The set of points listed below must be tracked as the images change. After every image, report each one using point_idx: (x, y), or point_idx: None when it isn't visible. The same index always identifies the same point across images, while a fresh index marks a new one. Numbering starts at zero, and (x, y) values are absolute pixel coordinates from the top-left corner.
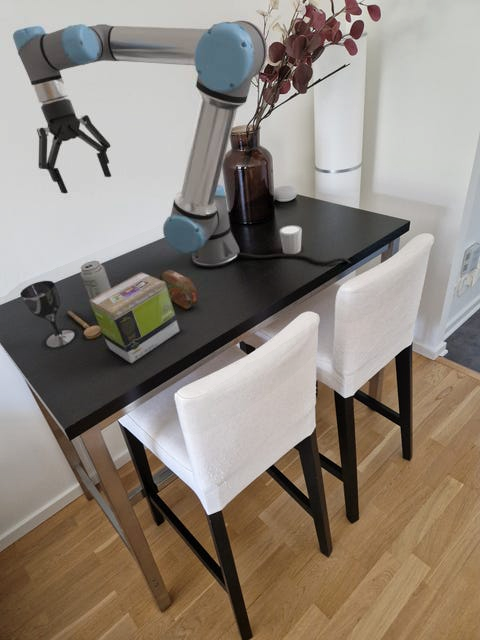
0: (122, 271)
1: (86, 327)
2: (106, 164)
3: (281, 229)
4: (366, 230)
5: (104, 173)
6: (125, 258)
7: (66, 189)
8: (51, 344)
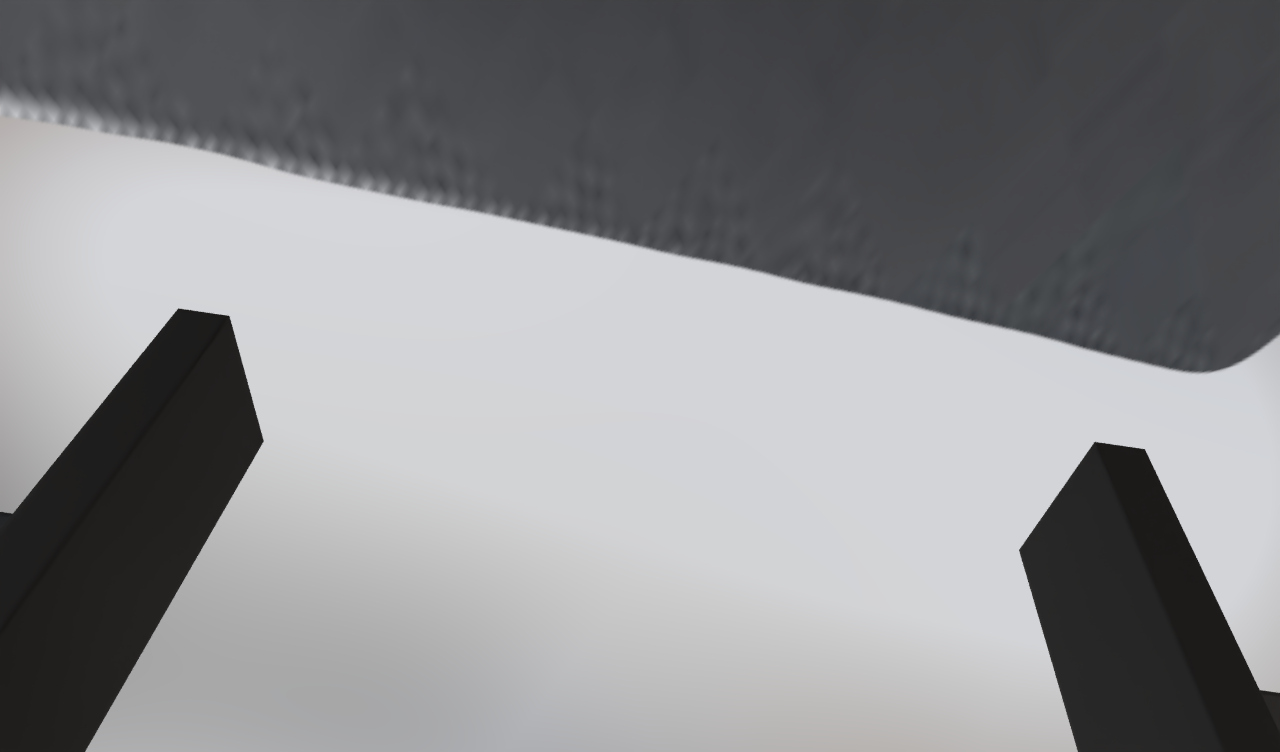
0: (650, 13)
1: None
2: (54, 488)
3: None
4: None
5: (231, 463)
6: (516, 156)
7: (1116, 486)
8: None
